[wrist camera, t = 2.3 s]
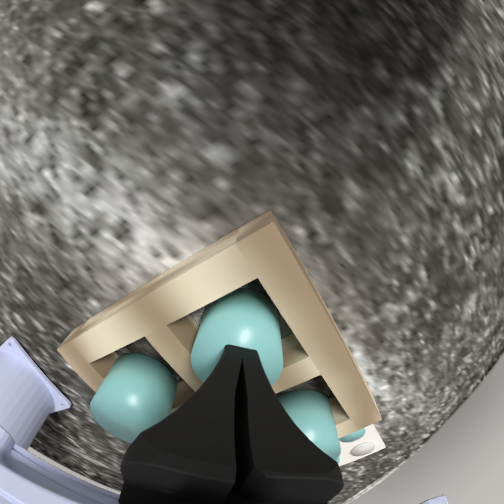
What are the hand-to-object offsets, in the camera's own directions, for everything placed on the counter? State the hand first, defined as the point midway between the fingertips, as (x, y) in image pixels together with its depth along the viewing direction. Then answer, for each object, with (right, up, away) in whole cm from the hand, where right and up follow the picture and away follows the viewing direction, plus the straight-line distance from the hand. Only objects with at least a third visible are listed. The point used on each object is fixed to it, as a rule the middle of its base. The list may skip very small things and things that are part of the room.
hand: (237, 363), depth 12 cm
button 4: (0, +1, +3) cm, 3 cm away
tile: (+8, -12, +8) cm, 16 cm away
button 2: (-5, -3, +3) cm, 7 cm away
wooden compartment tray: (-1, -3, +5) cm, 6 cm away
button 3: (+3, -5, +4) cm, 7 cm away
